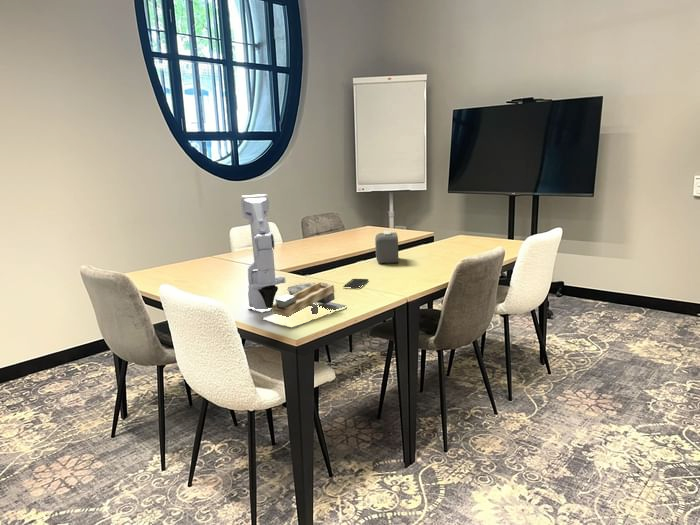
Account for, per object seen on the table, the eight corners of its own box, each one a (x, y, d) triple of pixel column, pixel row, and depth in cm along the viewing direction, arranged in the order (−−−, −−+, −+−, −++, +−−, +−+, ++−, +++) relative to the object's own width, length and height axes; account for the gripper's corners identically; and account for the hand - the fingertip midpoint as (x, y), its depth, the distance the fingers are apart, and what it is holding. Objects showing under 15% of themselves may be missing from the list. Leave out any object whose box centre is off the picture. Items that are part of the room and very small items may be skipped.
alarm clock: (398, 264, 271) (397, 234, 268) (376, 265, 272) (375, 235, 268) (396, 257, 287) (395, 229, 284) (375, 258, 288) (374, 230, 284)
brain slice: (309, 286, 235) (309, 280, 234) (338, 291, 224) (337, 285, 223) (277, 297, 220) (276, 290, 219) (306, 303, 209) (305, 296, 209)
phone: (342, 286, 228) (352, 278, 242) (342, 289, 228) (352, 280, 242) (360, 287, 225) (369, 279, 239) (360, 290, 226) (369, 281, 240)
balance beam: (293, 325, 182) (290, 310, 180) (271, 319, 190) (267, 304, 188) (339, 300, 198) (337, 285, 197) (317, 295, 206) (314, 281, 205)
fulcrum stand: (291, 328, 179) (290, 319, 178) (261, 320, 190) (261, 311, 189) (346, 308, 199) (346, 299, 198) (317, 301, 210) (317, 293, 209)
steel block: (286, 311, 184) (284, 301, 183) (277, 309, 187) (275, 299, 186) (297, 306, 187) (295, 296, 186) (287, 304, 191) (285, 294, 189)
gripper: (256, 274, 170) (259, 314, 173) (290, 266, 181) (292, 303, 184) (243, 272, 175) (246, 311, 178) (276, 263, 185) (279, 300, 188)
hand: (269, 307), depth 181 cm, fingers closed
